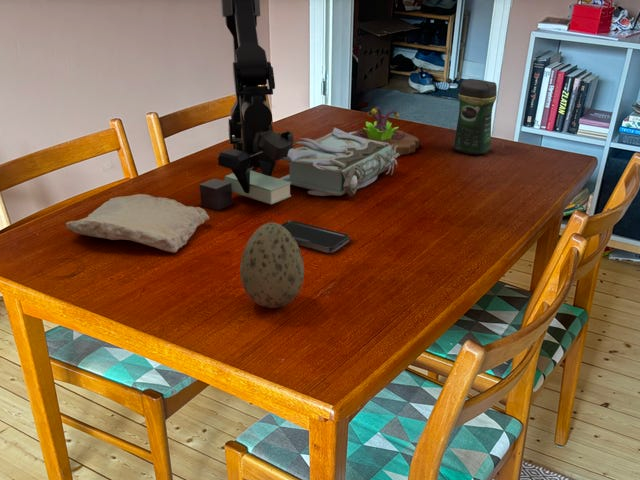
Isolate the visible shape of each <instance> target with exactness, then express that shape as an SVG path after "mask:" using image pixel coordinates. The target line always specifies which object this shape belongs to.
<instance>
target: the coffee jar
mask: <svg viewBox="0 0 640 480" xmlns="http://www.w3.org/2000/svg"><path fill="white" fill-rule="evenodd" d="M497 89H498V88H497V83H496V82H494V81H489V80H484V79H479V78H478V79H477V78H467V79H464V80H462V81H461V84H460V86H459V90H458V101H459V110H458V118H457V123H456V128H455V129H456V130H455V135H454V141H453V149H454V151H456V152H459V153H464V154H467V155H476V156H477V155H485V154H488V152H490V150H491V144H492V143H491V142H492V116H493V109H494V105H495V102H496V101H497V97H498V95H497V93H498V91H497Z"/></svg>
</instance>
